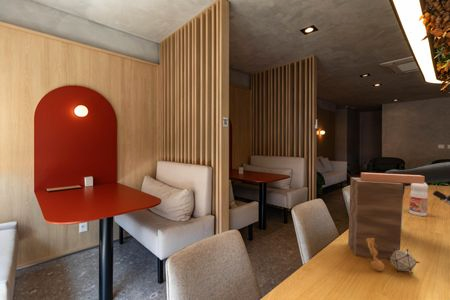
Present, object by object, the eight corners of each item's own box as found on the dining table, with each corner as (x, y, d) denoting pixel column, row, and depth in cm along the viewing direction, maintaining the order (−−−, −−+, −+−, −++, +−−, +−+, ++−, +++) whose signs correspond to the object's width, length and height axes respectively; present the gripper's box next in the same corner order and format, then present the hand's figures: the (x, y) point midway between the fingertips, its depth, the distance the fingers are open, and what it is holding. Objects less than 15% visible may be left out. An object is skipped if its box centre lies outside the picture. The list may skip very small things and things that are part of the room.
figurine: (381, 277, 81) (383, 244, 80) (362, 270, 85) (363, 239, 84) (385, 268, 87) (387, 237, 86) (367, 262, 91) (368, 233, 91)
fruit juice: (429, 217, 148) (431, 175, 147) (411, 214, 152) (413, 174, 151) (424, 213, 156) (426, 173, 155) (407, 211, 161) (409, 172, 160)
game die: (395, 279, 86) (377, 254, 89) (408, 267, 89) (390, 243, 92) (417, 280, 78) (396, 252, 81) (430, 267, 81) (409, 241, 84)
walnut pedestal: (348, 243, 107) (350, 177, 106) (386, 248, 103) (389, 179, 102) (355, 256, 96) (358, 181, 94) (399, 261, 91) (403, 184, 90)
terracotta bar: (360, 179, 101) (360, 172, 101) (419, 182, 95) (420, 175, 95) (362, 180, 98) (363, 173, 98) (424, 183, 91) (424, 176, 91)
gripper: (474, 205, 95) (435, 183, 98) (506, 215, 81) (460, 190, 84) (462, 219, 96) (424, 197, 99) (492, 232, 82) (446, 206, 86)
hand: (441, 194), depth 92 cm, fingers open, 8 cm apart
